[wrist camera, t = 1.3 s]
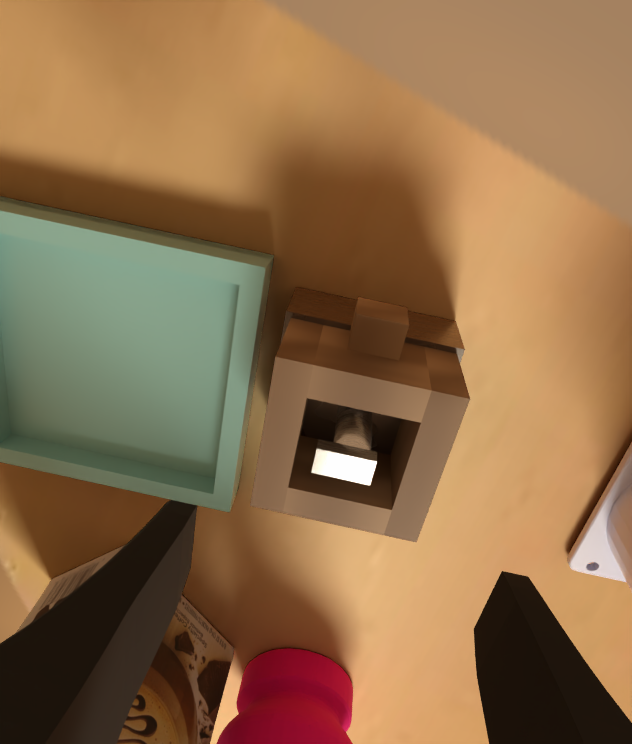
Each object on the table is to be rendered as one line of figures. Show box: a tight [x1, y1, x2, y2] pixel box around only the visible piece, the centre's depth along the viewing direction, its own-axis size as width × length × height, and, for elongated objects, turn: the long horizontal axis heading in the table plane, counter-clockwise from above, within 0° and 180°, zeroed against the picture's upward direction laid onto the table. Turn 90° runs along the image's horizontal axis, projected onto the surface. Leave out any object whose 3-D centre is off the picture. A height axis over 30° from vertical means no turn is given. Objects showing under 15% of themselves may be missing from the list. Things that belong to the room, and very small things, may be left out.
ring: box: [250, 297, 470, 542], centre depth 18 cm, size 6×7×3 cm
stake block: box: [280, 287, 465, 485], centre depth 19 cm, size 6×6×6 cm
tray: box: [0, 196, 274, 512], centre depth 22 cm, size 11×11×2 cm
